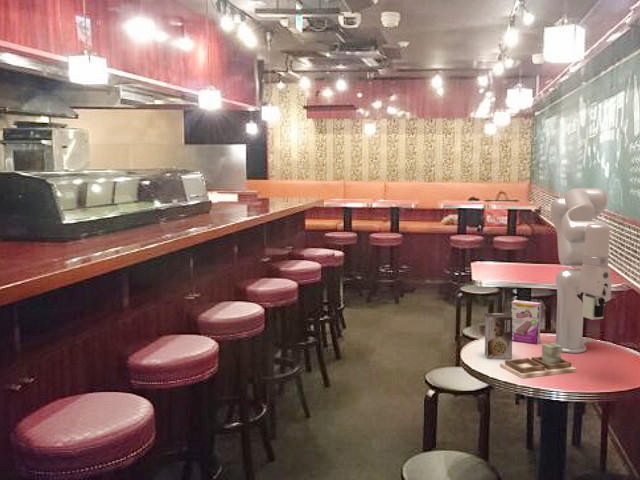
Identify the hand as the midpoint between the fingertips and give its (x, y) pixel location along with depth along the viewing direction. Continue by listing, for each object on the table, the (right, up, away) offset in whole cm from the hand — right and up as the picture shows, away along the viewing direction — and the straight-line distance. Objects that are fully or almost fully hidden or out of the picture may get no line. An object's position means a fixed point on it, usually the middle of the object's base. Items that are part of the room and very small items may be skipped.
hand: (592, 314), depth 205 cm
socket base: (-14, -21, +11) cm, 28 cm away
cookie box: (-24, -19, +26) cm, 40 cm away
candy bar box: (-7, -17, +46) cm, 49 cm away
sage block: (0, -1, 0) cm, 1 cm away
